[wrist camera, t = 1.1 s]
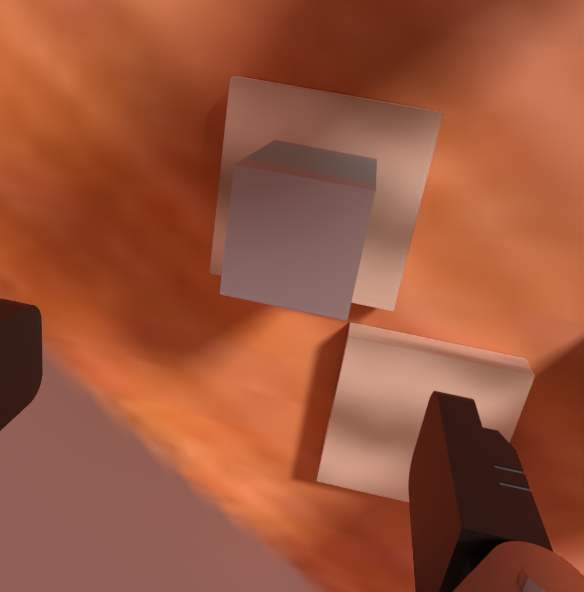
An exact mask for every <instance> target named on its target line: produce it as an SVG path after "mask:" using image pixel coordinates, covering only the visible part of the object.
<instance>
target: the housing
mask: <svg viewBox="0 0 584 592" xmlns="http://www.w3.org/2000/svg"><path fill="white" fill-rule="evenodd" d="M376 172H377V159H375V158H370V157H364V156H359V155H353V154H348V153H342V152H337V151H331V150H326V149H320V148H315V147H309V146H304V145H299V144H293V143H288V142H282V141H277V140H274V141H272V142H271V143H269V144H267V145H266V146H264V147H262V148H261V149H259V150H257V151H256V152H254V153H252V154H251V155H249V156H247V157H246V158H244V159H242V160H241V161H239V162H237V163H236V164H234V172H233V181H232V189H231V198H230V207H229V215H228V224H227V233H226V241H225V250H224V259H223V267H222V276H221V284H220V293H219V294H220V295H225V296H230V297H235V298H239V299H244V300H249V301H254V302H259V303H264V304H268V305H273V306H278V307H283V308H288V309H293V310H297V311H302V312H307V313H312V314H317V315H322V316H327V317H331V318H336V319H341V320H346V321H347V320H348V316H349V311H350V306H351V302H352V297H353V293H354V288H355V284H356V279H357V274H358V270H359V265H360V261H361V256H362V251H363V247H364V242H365V238H366V233H367V228H368V224H369V219H370V215H371V210H372V205H373V201H374V196H375V192H376Z"/></svg>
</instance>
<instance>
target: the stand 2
mask: <svg viewBox="0 0 584 592" xmlns="http://www.w3.org/2000/svg"><path fill="white" fill-rule="evenodd" d="M534 378H535V375H534V373H533V371H532V369H531V367H530V365H529V363H528V361H527V359H526V358H522V357H517V356H513V355H508V354H503V353H498V352H493V351H488V350H484V349H479V348H474V347H469V346H464V345H459V344H455V343H450V342H445V341H440V340H435V339H430V338H426V337H421V336H416V335H411V334H406V333H401V332H396V331H392V330H387V329H382V328H377V327H372V326H367V325H363V324H358V323H353V322H350V325H349V330H348V335H347V339H346V344H345V348H344V353H343V357H342V362H341V366H340V371H339V375H338V380H337V384H336V389H335V394H334V398H333V403H332V407H331V412H330V416H329V421H328V425H327V430H326V434H325V439H324V443H323V448H322V453H321V457H320V462H319V468H318V475H317V482H322V483H326V484H330V485H335V486H339V487H343V488H348V489H352V490H356V491H361V492H365V493H369V494H374V495H378V496H382V497H387V498H391V499H395V500H400V501H404V502H408V503H409V491H408V482H409V471H410V465H411V460H412V456H413V453H414V449H415V446H416V442H417V439H418V436H419V432H420V429H421V425H422V422H423V419H424V415H425V412H426V408H427V405H428V402H429V399H430V396H431V394H432V393H433V391H438V392H443V393H448V394H453V395H457V396H462V397H467V398H472V399H474V401H475V404H476V407H477V410H478V414H479V417H480V420H481V424H482V427H483V428H488V429H493V430H497V431H499V432H500V433H501V435H502V436H503V437H504V438H505V439H506V440H507V441H508V442H509V443H510V441H511V438H512V436H513V433H514V430H515V428H516V425H517V423H518V420H519V417H520V415H521V412H522V409H523V407H524V404H525V401H526V399H527V396H528V394H529V391H530V388H531V386H532V383H533V380H534Z"/></svg>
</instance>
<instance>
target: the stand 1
mask: <svg viewBox="0 0 584 592" xmlns="http://www.w3.org/2000/svg"><path fill="white" fill-rule="evenodd" d="M442 116H443V113H441V112H440V111H436V110H430V109H424V108H419V107H413V106H407V105H401V104H396V103H390V102H384V101H378V100H373V99H367V98H361V97H356V96H350V95H344V94H338V93H333V92H327V91H321V90H316V89H310V88H304V87H298V86H293V85H287V84H281V83H275V82H270V81H264V80H258V79H253V78H247V77H241V76H230V84H229V94H228V103H227V112H226V122H225V131H224V141H223V150H222V159H221V169H220V178H219V188H218V197H217V206H216V216H215V225H214V235H213V244H212V253H211V263H210V272H209V274H213V275H218V276H222V267H223V259H224V250H225V241H226V233H227V224H228V215H229V207H230V198H231V189H232V181H233V172H234V164H236V163H237V162H239V161H241V160H242V159H244V158H246V157H247V156H249V155H251V154H252V153H254V152H256V151H257V150H259V149H261V148H262V147H264V146H266V145H267V144H269V143H271V142H272V141H274V140H277V141H282V142H288V143H293V144H299V145H304V146H309V147H315V148H320V149H326V150H331V151H337V152H342V153H348V154H353V155H359V156H364V157H370V158H375V159H377V172H376V192H375V196H374V201H373V205H372V210H371V215H370V219H369V224H368V228H367V233H366V238H365V242H364V247H363V251H362V256H361V261H360V265H359V270H358V274H357V279H356V284H355V288H354V293H353V297H352V302H351V303H355V304H360V305H365V306H370V307H375V308H380V309H385V310H390V311H394V307H395V303H396V299H397V295H398V291H399V287H400V283H401V279H402V275H403V271H404V267H405V263H406V259H407V255H408V251H409V247H410V243H411V239H412V235H413V232H414V228H415V224H416V220H417V216H418V212H419V208H420V204H421V200H422V196H423V192H424V188H425V184H426V180H427V176H428V172H429V168H430V164H431V160H432V156H433V152H434V148H435V144H436V140H437V136H438V132H439V128H440V124H441V120H442Z"/></svg>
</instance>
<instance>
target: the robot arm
mask: <svg viewBox="0 0 584 592" xmlns="http://www.w3.org/2000/svg"><path fill="white" fill-rule="evenodd" d="M41 380H42V325H41V314H40V311H39V309H38V308H37V307H36V306H34V305H29V304H25V303H20V302H15V301H10V300H6V299H0V431H1V430H2V428H4V427H5V426H6V425H7V424H8V423H9V422H10V421H11V420H12V419H13V418H15V417H16V416H17V415H18V414H19V413H20V412H21V411H22V410H23V409H24V408H25V407H26V406H28V405H29V404H30V403H31V402H32V400H33V399H34V397H35V396H36V394H37V392H38V390H39V387H40V384H41ZM408 491H409V505H410V518H411V532H412V546H413V560H414V574H415V588H416V592H584V576H583V575H582V574H581V573H580V572H579V571H578V570H577V569H576V568H575V567H574V566H573V565H571V564H570V563H569V562H568V561H566V560H565V559H563V558H562V557H560V556H559V555H557V554H556V553H554V552H553V550H552V547H551V545H550V542H549V539H548V536H547V534H546V531H545V528H544V526H543V523H542V520H541V518H540V515H539V512H538V509H537V507H536V504H535V501H534V499H533V496H532V493H531V492H529V485H528V482H527V480H526V477H525V475H523V469H522V466H521V463H520V461H519V458H518V455H517V453H516V450H515V449H514V448H513V447H512V446H511V445H510V443H509V442H508V441H507V440H506V439H505V438H504V437H503V436H502V435H501V433H500V432H499V431H497V430H493V429H488V428H483V427H482V424H481V420H480V417H479V414H478V410H477V407H476V404H475V401H474V399H472V398H467V397H462V396H457V395H453V394H448V393H443V392H438V391H433V393H432V394H431V396H430V399H429V402H428V405H427V408H426V412H425V415H424V419H423V422H422V425H421V429H420V432H419V436H418V439H417V442H416V446H415V449H414V453H413V456H412V460H411V465H410V471H409V482H408Z"/></svg>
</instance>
